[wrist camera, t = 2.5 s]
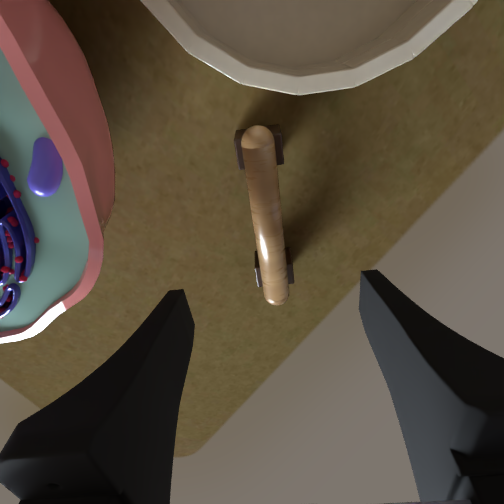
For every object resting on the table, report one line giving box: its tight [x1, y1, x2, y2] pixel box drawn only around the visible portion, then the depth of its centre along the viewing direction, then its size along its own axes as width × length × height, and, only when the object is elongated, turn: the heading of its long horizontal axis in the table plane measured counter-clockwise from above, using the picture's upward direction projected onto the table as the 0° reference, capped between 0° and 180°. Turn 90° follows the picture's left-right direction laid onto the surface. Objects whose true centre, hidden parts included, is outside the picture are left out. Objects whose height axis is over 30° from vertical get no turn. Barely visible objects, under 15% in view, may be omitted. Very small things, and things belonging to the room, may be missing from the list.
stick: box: [241, 125, 289, 305], centre depth 19 cm, size 11×2×2 cm, turn 8°
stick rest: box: [234, 124, 294, 287], centre depth 20 cm, size 10×2×2 cm, turn 8°
